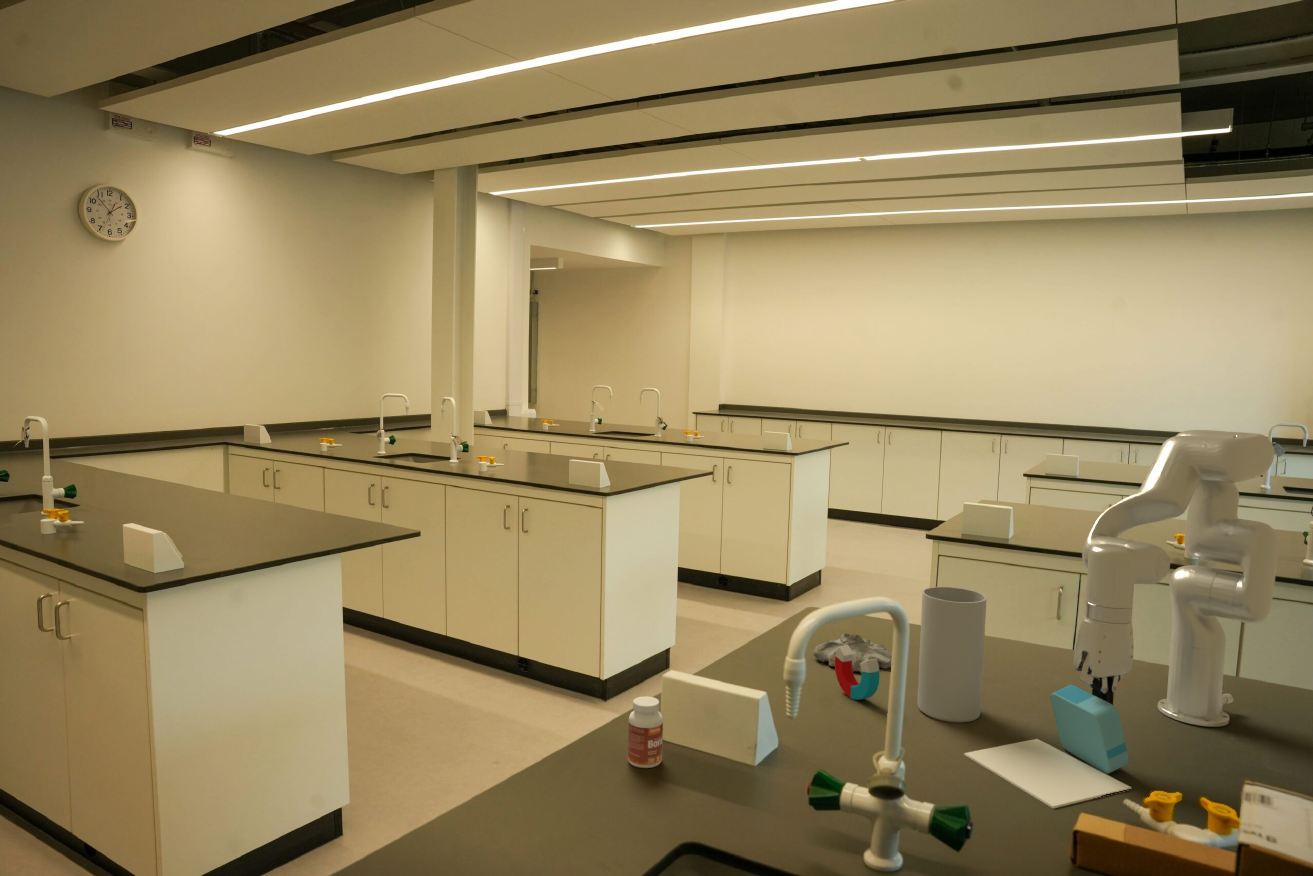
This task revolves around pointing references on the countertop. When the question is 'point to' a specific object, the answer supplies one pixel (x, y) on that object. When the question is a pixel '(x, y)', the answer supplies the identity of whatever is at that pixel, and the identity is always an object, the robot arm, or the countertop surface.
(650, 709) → the pill bottle
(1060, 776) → the mat
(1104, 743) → the data package
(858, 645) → the fossil
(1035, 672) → the countertop surface
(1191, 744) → the countertop surface
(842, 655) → the magnet
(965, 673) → the cylinder vase
